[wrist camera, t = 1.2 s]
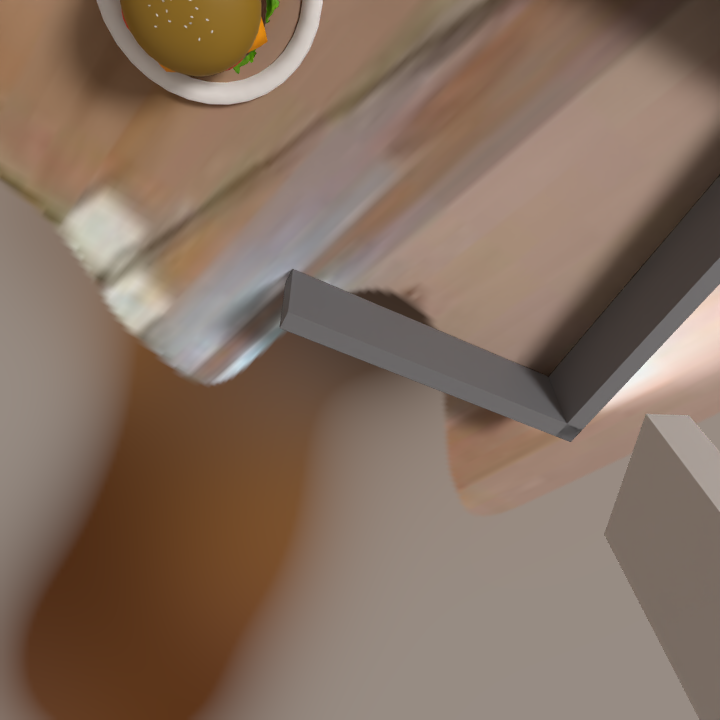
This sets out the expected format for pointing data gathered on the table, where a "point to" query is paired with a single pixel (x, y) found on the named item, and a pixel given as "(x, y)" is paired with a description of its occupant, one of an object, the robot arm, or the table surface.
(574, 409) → the box
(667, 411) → the table surface
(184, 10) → the hamburger
